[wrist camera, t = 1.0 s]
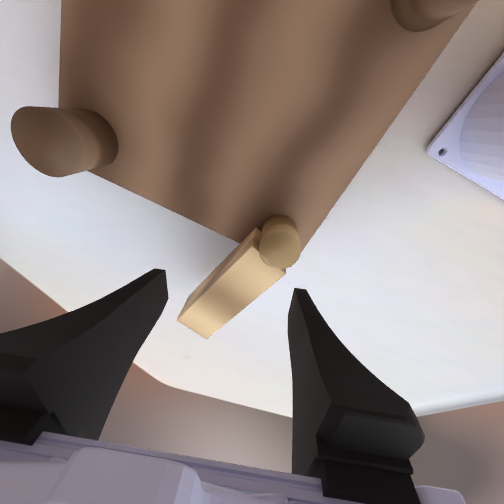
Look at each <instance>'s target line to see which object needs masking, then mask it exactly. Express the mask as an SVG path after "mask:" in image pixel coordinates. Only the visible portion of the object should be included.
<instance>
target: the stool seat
mask: <svg viewBox="0 0 504 504" xmlns="http://www.w3.org/2000/svg"><path fill="white" fill-rule="evenodd" d="M477 1H479V0H62V2H61V37H60V72H59V107H58V108H50V107H33V106H26V107H22V108H20V109H18V110H17V111H16V112H15V113H14V115H13V117H12V120H11V133H12V137H13V140H14V142H15V145H16V147H17V148H18V150H19V152H20V153H21V155H22V156H23V157H24V158H25V160H26V161H27V162H28V163H29V164H30V165H31V166H33V167H34V168H35V169H37V170H38V171H40V172H41V173H43V174H46V175H48V176H52V177H64V176H68V175H71V174H75V173H79V172H83V171H89V172H91V173H93V174H96V175H98V176H100V177H102V178H104V179H106V180H108V181H110V182H112V183H114V184H117V185H119V186H121V187H123V188H125V189H127V190H129V191H131V192H133V193H136V194H138V195H140V196H142V197H144V198H146V199H148V200H150V201H152V202H155V203H157V204H159V205H161V206H163V207H165V208H167V209H169V210H171V211H173V212H176V213H178V214H180V215H182V216H184V217H186V218H188V219H190V220H192V221H195V222H197V223H199V224H201V225H203V226H205V227H207V228H209V229H211V230H214V231H216V232H218V233H220V234H222V235H224V236H226V237H228V238H230V239H233V240H235V241H237V242H239V243H241V242H242V241H243V240H244V239H245V238H246V237H247V236H248V235H249V234H250V233H251V232H252V231H253V230H254V229H255V228H257V229H258V230H260V231H261V232H262V227H263V225H264V223H265V222H266V220H267V219H269V218H270V217H272V216H276V215H284V216H287V217H289V218H291V219H292V220H293V221H294V222H295V224H296V226H297V231H298V237H299V243H300V248H301V252H302V250H303V249H304V248H305V246H306V245H307V243H308V242H309V240H310V239H311V238H312V236H313V235H314V233H315V232H316V230H317V229H318V228H319V226H320V225H321V223H322V222H323V220H324V219H325V218H326V216H327V215H328V213H329V212H330V210H331V209H332V208H333V206H334V205H335V203H336V202H337V200H338V199H339V198H340V196H341V195H342V193H343V192H344V191H345V189H346V188H347V186H348V185H349V183H350V182H351V181H352V179H353V178H354V176H355V175H356V173H357V172H358V171H359V169H360V168H361V166H362V165H363V163H364V162H365V161H366V159H367V158H368V156H369V155H370V153H371V152H372V151H373V149H374V148H375V146H376V145H377V144H378V142H379V141H380V139H381V138H382V136H383V135H384V134H385V132H386V131H387V129H388V128H389V126H390V125H391V124H392V122H393V121H394V119H395V118H396V116H397V115H398V114H399V112H400V111H401V109H402V108H403V106H404V105H405V104H406V102H407V101H408V99H409V98H410V97H411V95H412V94H413V92H414V91H415V89H416V88H417V87H418V85H419V84H420V82H421V81H422V79H423V78H424V77H425V75H426V74H427V72H428V71H429V69H430V68H431V67H432V65H433V64H434V62H435V61H436V59H437V58H438V57H439V55H440V54H441V52H442V51H443V49H444V48H445V47H446V45H447V44H448V42H449V41H450V40H451V38H452V37H453V35H454V34H455V32H456V31H457V30H458V28H459V27H460V25H461V24H462V22H463V21H464V20H465V18H466V17H467V15H468V14H469V12H470V11H471V10H472V8H473V7H474V5H475V4H476V2H477ZM301 252H300V253H301ZM290 267H291V266H290Z"/></svg>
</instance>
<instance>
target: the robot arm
mask: <svg viewBox="0 0 504 504" xmlns="http://www.w3.org/2000/svg"><path fill="white" fill-rule="evenodd" d="M442 148H443V153H442V154H441V155H438V152H439V150H441V149H442ZM426 152H427V154H428V155H429V156H431V157H433V158H434V159H436V160H438V161H439V162H441V163H443V164H444V165H446V166H448V167H449V168H451V169H453V170H454V171H456V172H458V173H459V174H461V175H463V176H464V177H466V178H468V179H469V180H471V181H472V182H474V183H476V184H477V185H479V186H481V187H482V188H484V189H486V190H487V191H489V192H491V193H492V194H494V195H496V196H497V197H499V198H501V199H502V200H504V52H503V54H502V55H501V56H500V57H499V59H498V60H497V61H496V62H495V64H494V65H493V66H492V67H491V68H490V70H489V71H488V72H487V73H486V75H485V76H484V77H483V78H482V80H481V81H480V82H479V83H478V84H477V86H476V87H475V88H474V89H473V91H472V92H471V93H470V94H469V96H468V97H467V98H466V99H465V100H464V102H463V103H462V104H461V105H460V107H459V108H458V109H457V110H456V112H455V113H454V114H453V115H452V117H451V118H450V119H449V120H448V121H447V123H446V124H445V125H444V126H443V128H442V129H441V130H440V131H439V133H438V134H437V135H436V136H435V137H434V139H433V140H432V141H431V142H430V144H429V145H428V147H427V149H426ZM167 300H168V290H167V281H166V272H165V270H161V269H153V270H151V271H149V272H147V273H146V274H144V275H142V276H141V277H139V278H137V279H136V280H134V281H132V282H130V283H129V284H127V285H125V286H124V287H122V288H120V289H118V290H116V291H114V292H112V293H111V294H109V295H107V296H105V297H103V298H101V299H99V300H97V301H95V302H93V303H90V304H88V305H86V306H83V307H81V308H79V309H76V310H74V311H71V312H68V313H66V314H63V315H60V316H58V317H55V318H52V319H49V320H46V321H43V322H40V323H37V324H34V325H30V326H27V327H23V328H20V329H16V330H12V331H8V332H5V333H1V334H0V504H466V503H465V501H464V499H463V497H462V495H461V493H459V492H458V491H456V490H450V489H443V488H438V487H431V486H423V485H421V486H416V487H414V484H413V481H412V479H411V476H410V475H412V474H413V468H412V466H411V463H410V461H409V458H410V457H411V456H412V455H413V454H414V453H415V452H416V451H417V450H418V449H419V448H420V447H421V446H422V444H423V443H424V439H425V435H424V433H423V431H422V428H421V426H420V424H419V422H418V420H417V417H416V415H415V413H414V412H413V410H412V408H411V406H410V404H409V403H408V402H407V401H406V400H404V399H403V398H402V397H400V396H399V395H398V394H397V393H395V392H394V391H393V390H391V389H390V388H389V387H387V386H386V385H385V384H384V383H383V382H381V381H380V380H379V379H378V378H377V377H376V376H375V375H373V374H372V373H371V372H370V371H369V370H368V369H367V368H366V367H365V366H363V365H362V364H361V363H360V362H359V361H358V360H357V359H356V358H355V357H354V356H353V355H352V354H351V352H350V351H349V350H348V349H347V348H346V347H345V346H344V345H343V344H342V342H341V341H340V340H339V339H338V338H337V336H336V335H335V334H334V333H333V331H332V330H331V329H330V327H329V326H328V324H327V323H326V322H325V320H324V319H323V317H322V315H321V314H320V312H319V311H318V309H317V308H316V306H315V304H314V303H313V301H312V299H311V297H310V296H309V294H308V292H307V290H306V289H299V288H294V292H293V296H292V301H291V305H290V309H289V313H288V340H289V350H290V359H291V368H292V381H293V441H292V444H293V445H292V474H290V473H284V472H278V471H272V470H266V469H261V468H255V467H249V466H243V465H237V464H231V463H225V462H220V461H214V460H208V459H202V458H196V457H191V456H184V455H179V454H173V453H166V452H161V451H155V450H150V449H143V448H138V447H131V446H126V445H120V444H114V443H109V442H103V441H98V439H99V437H100V434H101V432H102V429H103V427H104V424H105V422H106V419H107V417H108V414H109V412H110V410H111V407H112V405H113V403H114V401H115V398H116V396H117V394H118V391H119V389H120V387H121V385H122V383H123V381H124V378H125V376H126V374H127V372H128V370H129V368H130V366H131V364H132V362H133V360H134V358H135V356H136V354H137V353H138V351H139V349H140V348H141V346H142V344H143V343H144V341H145V340H146V338H147V336H148V335H149V333H150V332H151V330H152V328H153V327H154V325H155V324H156V322H157V320H158V319H159V317H160V315H161V314H162V312H163V309H164V307H165V305H166V303H167Z"/></svg>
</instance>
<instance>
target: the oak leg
mask: <svg viewBox="0 0 504 504" xmlns="http://www.w3.org/2000/svg"><path fill="white" fill-rule="evenodd" d="M300 252H301V248H300V243H299V237H298V231H297V226H296V224H295V222H294V221H293V220H292V219H291V218H289V217H287V216H284V215H276V216H272V217H270V218H269V219H267V220H266V222H265V223H264V225H263V227H262V232H261V231H260V230H258V229H257V228H255V229H254V230H253V231H252V232H251V233H250V234H249V235H248V236H247V237H246V238H245V239H244V240H243V241H242V242H241V243H240V244H239V245H238V246H237V247H236V248H235V250H234V251H233V252H232V253H231V254H230V255H229V256H228V257H227V258H226V259H225V260H224V261H223V262H222V263H221V264H220V265H219V266H218V267H217V268H216V269H215V270H214V271H213V272H212V273H211V274H210V275H209V276H208V277H207V278H206V279H205V280H204V281H203V282H202V283H201V284H200V285H199V286H198V287H197V288H196V289H195V290H194V291H193V292H192V293H191V295H190V296H189V297H188V299H187V301H186V303H185V305H184V307H183V309H182V311H181V313H180V315H179V317H178V318H177V321H178V322H180V323H182V324H183V325H185V326H186V327H188V328H189V329H191V330H193V331H194V332H196V333H197V334H199V335H200V336H202V337H204V338H205V339H207V338H209V337H210V336H211V335H212V334H213V333H215V332H216V331H217V330H218V329H220V328H221V327H222V326H223V325H224V324H226V323H227V322H228V321H229V320H230V319H232V318H233V317H234V316H235V315H237V314H238V313H239V312H240V311H241V310H243V309H244V308H245V307H246V306H248V305H249V304H250V303H251V302H252V301H254V300H255V299H256V298H257V297H258V296H260V295H261V294H262V293H263V292H265V291H266V290H267V289H268V288H269V287H271V286H272V285H273V284H274V283H275V282H277V281H278V280H279V279H280V278H282V277H283V276H284V275H285V274H286V268H287V267H290V266H292V265H293V264H294V263H295V262H296V261H297V260H298V259H299V256H300Z"/></svg>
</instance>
